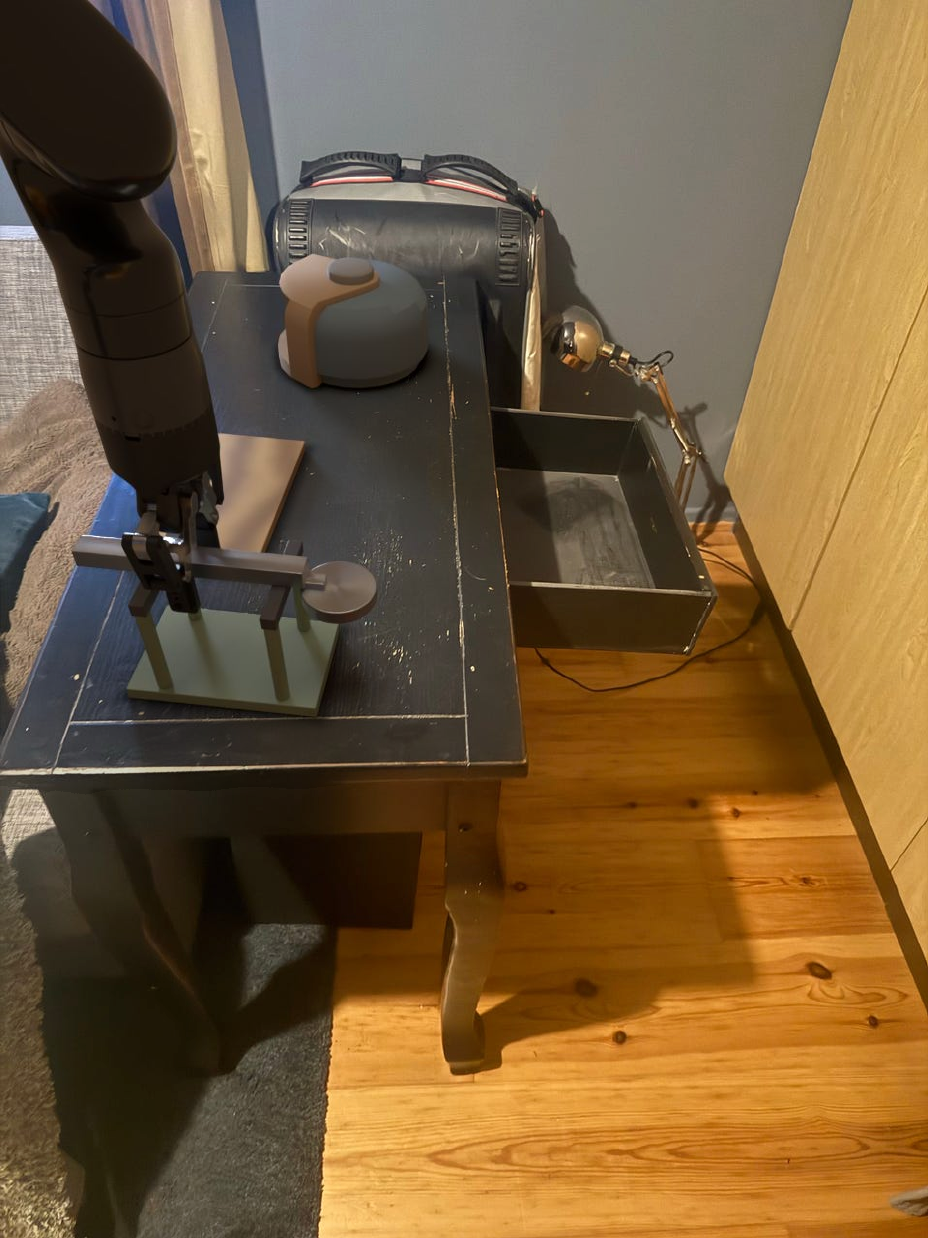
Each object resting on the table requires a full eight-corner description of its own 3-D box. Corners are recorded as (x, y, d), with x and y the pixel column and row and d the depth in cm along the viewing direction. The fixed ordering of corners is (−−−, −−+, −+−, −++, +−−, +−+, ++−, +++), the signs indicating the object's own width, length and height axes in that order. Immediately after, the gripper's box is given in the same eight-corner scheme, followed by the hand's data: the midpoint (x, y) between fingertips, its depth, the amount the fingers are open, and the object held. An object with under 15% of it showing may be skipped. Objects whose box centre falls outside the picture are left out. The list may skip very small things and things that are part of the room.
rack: (129, 697, 69) (93, 605, 61) (169, 614, 76) (142, 521, 68) (316, 717, 69) (305, 627, 61) (339, 631, 76) (332, 540, 68)
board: (124, 564, 80) (121, 555, 80) (196, 439, 96) (194, 430, 95) (255, 577, 80) (254, 568, 79) (305, 449, 95) (305, 441, 95)
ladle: (71, 597, 64) (59, 568, 61) (102, 547, 68) (91, 518, 66) (370, 627, 63) (369, 599, 61) (382, 575, 67) (381, 546, 65)
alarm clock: (278, 324, 116) (268, 236, 108) (418, 320, 119) (419, 234, 111) (280, 395, 103) (268, 302, 95) (437, 388, 106) (440, 297, 98)
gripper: (135, 340, 59) (181, 524, 71) (46, 454, 49) (118, 646, 61) (238, 349, 58) (267, 532, 71) (170, 466, 48) (217, 656, 61)
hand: (197, 584), depth 66 cm, fingers open, 5 cm apart
